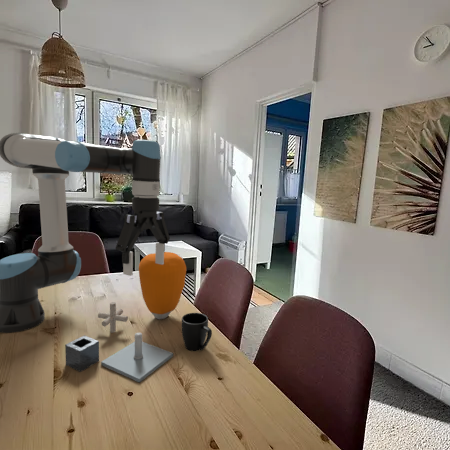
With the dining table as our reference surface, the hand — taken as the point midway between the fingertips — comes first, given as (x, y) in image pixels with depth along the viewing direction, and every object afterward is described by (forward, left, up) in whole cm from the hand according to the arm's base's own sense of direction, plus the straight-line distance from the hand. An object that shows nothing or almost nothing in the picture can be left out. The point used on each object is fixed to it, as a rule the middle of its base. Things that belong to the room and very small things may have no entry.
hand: (144, 268), depth 90 cm
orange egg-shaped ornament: (-9, +20, -26) cm, 33 cm away
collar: (-9, -14, -25) cm, 31 cm away
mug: (+14, +9, -26) cm, 30 cm away
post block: (+3, -5, -25) cm, 26 cm away
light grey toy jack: (-16, +3, -26) cm, 30 cm away
